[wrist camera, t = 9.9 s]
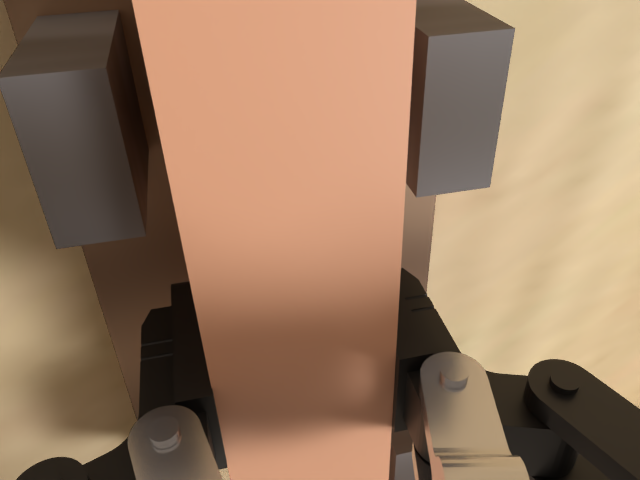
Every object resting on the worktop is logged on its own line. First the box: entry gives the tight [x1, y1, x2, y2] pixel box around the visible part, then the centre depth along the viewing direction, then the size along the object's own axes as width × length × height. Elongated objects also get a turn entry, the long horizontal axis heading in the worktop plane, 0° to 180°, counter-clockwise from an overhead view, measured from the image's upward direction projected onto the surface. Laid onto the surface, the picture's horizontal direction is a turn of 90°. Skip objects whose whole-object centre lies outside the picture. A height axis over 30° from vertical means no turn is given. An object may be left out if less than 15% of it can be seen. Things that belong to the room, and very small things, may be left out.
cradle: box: [0, 0, 515, 480], centre depth 15 cm, size 15×9×4 cm, turn 2°
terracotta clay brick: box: [132, 0, 416, 480], centre depth 13 cm, size 4×16×5 cm, turn 2°
